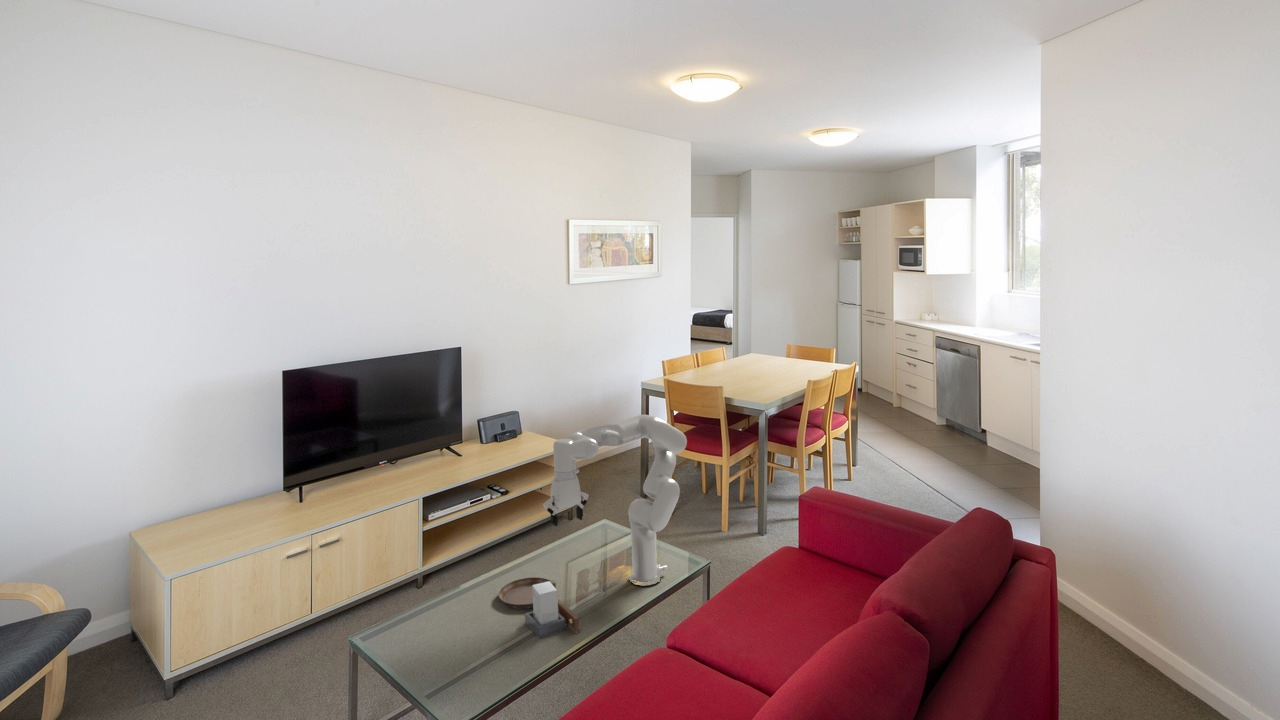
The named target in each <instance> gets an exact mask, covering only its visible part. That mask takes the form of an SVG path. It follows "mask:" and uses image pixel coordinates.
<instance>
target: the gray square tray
mask: <svg viewBox="0 0 1280 720" xmlns="http://www.w3.org/2000/svg"><path fill="white" fill-rule="evenodd" d="M558 618H559V620H557V621H554V622H551V623H548V624H545V625H542V626H540V625H539V624H538V623H537V622H536V621H535V620H534V615H533V610H532V611H529V612H525V613H524V621H525V625H526V626H527V627H528V628H529V629H530V630H531V631H532V632H533V633H534V634H535V635H536V637H538V639H542V638H545V637H548V636H551V635H554V634H556V633H559V632H563V631H566V630H567V625H566V619H565V618H564V617H563V616H561V615H560V614H559V613H558Z"/></svg>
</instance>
